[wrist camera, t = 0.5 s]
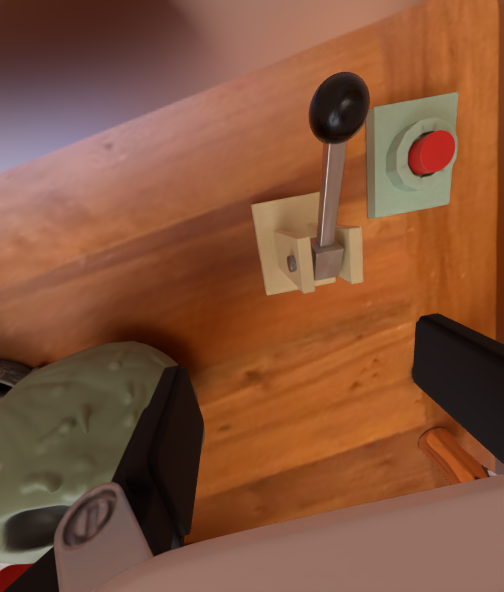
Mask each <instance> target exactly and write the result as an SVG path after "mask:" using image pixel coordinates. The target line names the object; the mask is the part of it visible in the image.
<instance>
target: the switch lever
mask: <svg viewBox="0 0 504 592" xmlns="http://www.w3.org/2000/svg"><path fill="white" fill-rule="evenodd" d="M369 105H370V97H369V91H368V88H367V86H366V84H365V82H364V81H363V79H362V78H360V77H359V76H358V75H356V74H354V73H351V72H340V73H337V74H334V75H332V76H330V77H329V78H327V79H326V80H325V81H324V82H323V83H322V84H321V85H320V86H319V87H318V89H317V90H316V92H315V94H314V96H313V98H312V100H311V104H310V108H309V124H310V128H311V130H312V132H313V134H314V135H315V137H316V138H317V139H318V140H320V141H321V142H323V155H322V169H321V183H320V197H319V211H318V225H317V237H314V238H310V242H311V252H312V263H313V273H314V281H318V280H323V279H328V278H333V277H338V276H339V275H340V269H341V263H342V257H343V251H344V249H343V247H342V246H341V245H340V244H339V242H338V241H337V240H336V239H335V229H336V222H337V214H338V206H339V199H340V191H341V183H342V176H343V168H344V160H345V153H346V145H347V141H348V140H349V139H351V138H352V137H353V136H354V135H355V134H356V133H357V132H358V131H359V130H360V129H361V127H362V126H363V124H364V122H365V120H366V118H367V115H368V111H369Z"/></svg>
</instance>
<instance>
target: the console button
mask: <svg viewBox="0 0 504 592" xmlns="http://www.w3.org/2000/svg"><path fill="white" fill-rule="evenodd" d="M454 152H455V140H454V138H453V136H452V135H451V134H450V133H449V132H447V131H444V130H438V131H435V132H433V133H430V134H428V135H426V136H423V137H421V138H419V139H418V140H417V141H416V142H415V143H414V144H413V145H412V147H411V149H410V151H409V155H408V164H409V167H410V169H411V170H412V171H413V172H414V173H416V174H419V175H424V174H428V173H433V172H437V171H440V170H442V169H443V168H445V167H446V166H447V165H448V164H449V163H450V161H451V160H452V158H453V156H454Z"/></svg>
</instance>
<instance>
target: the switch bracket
mask: <svg viewBox="0 0 504 592" xmlns="http://www.w3.org/2000/svg"><path fill="white" fill-rule="evenodd" d="M319 197H320V192H316V193H310V194H305V195H300V196H294V197H289V198H284V199H278V200H273V201H268V202H262V203H257V204H252V205H251V210H252V216H253V222H254V228H255V234H256V240H257V246H258V252H259V257H260V263H261V269H262V275H263V281H264V287H265V293H266V295H267V296H268V295H273V294H278V293H283V292H288V291H293V290H298V289H300V290H301V291H302V292H303V293H309V292H314V291H315V286H318V285H323V284H328V283H333V282H335V277H333V278H328V279H323V280H318V281H314V273H313V263H312V252H311V242H310V238H314V237H317V225H318V211H319ZM335 239H336V240H337V241H338V242H339V244H340V245H341V246H342V247H343V249H344V251H343V257H342V263H341V269H340V275H339V276H338V277H340V278H342V279H343V280H345V281H347V282H349V283H351V284H355V283H360V282H363V254H362V227H360V226H346V225H336V229H335Z"/></svg>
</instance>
